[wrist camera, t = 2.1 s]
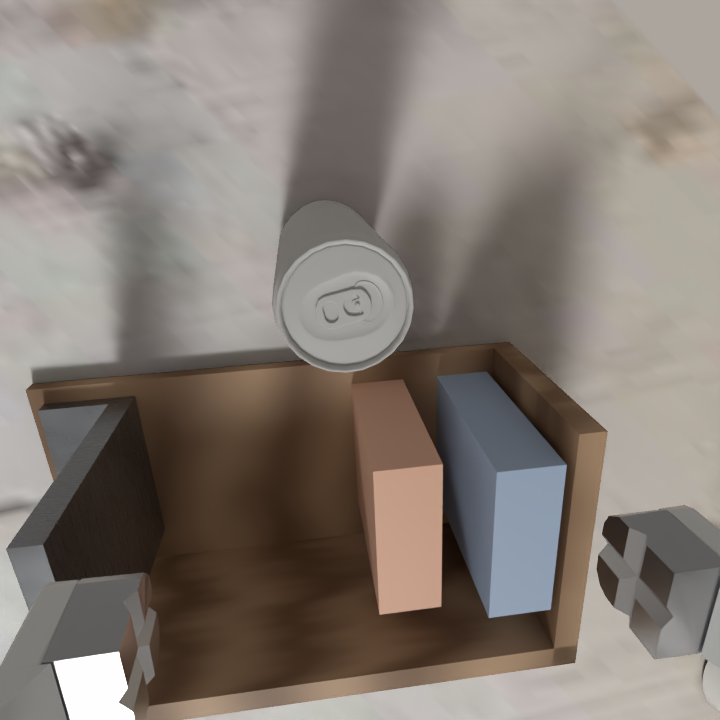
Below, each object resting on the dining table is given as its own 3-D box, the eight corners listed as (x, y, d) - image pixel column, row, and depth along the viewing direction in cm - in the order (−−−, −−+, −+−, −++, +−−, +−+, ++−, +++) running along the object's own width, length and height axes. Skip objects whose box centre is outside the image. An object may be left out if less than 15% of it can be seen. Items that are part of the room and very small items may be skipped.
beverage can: (378, 276, 30) (430, 355, 19) (294, 300, 30) (296, 392, 19) (357, 187, 28) (400, 215, 17) (266, 212, 28) (250, 257, 17)
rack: (509, 342, 32) (607, 431, 22) (498, 523, 37) (574, 662, 27) (32, 383, 30) (-99, 505, 20) (88, 572, 35) (7, 745, 25)
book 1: (402, 379, 31) (442, 464, 23) (405, 494, 34) (441, 606, 26) (351, 383, 31) (372, 471, 23) (357, 499, 34) (379, 614, 26)
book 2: (486, 371, 32) (566, 464, 23) (481, 486, 35) (550, 609, 26) (436, 376, 31) (496, 472, 22) (436, 491, 34) (488, 617, 25)
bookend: (135, 395, 30) (42, 544, 19) (165, 528, 33) (102, 721, 22) (43, 403, 29) (-106, 561, 18) (83, 537, 33) (-23, 739, 22)
